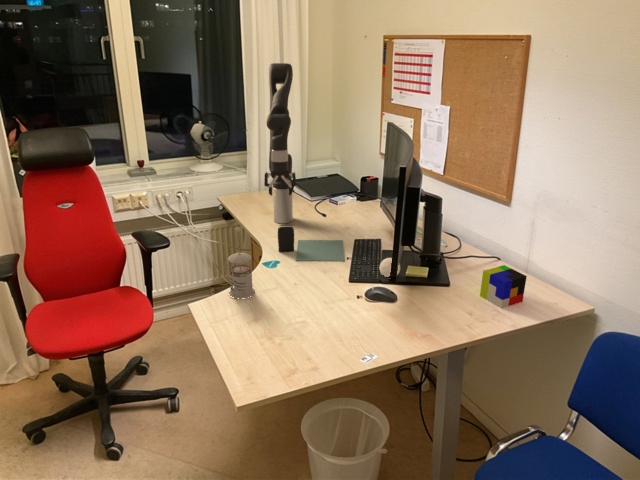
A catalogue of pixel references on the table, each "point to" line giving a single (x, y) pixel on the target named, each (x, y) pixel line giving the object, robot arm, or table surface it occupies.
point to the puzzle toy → (502, 286)
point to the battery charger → (285, 238)
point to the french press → (240, 282)
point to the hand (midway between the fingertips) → (280, 195)
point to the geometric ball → (387, 267)
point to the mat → (320, 250)
